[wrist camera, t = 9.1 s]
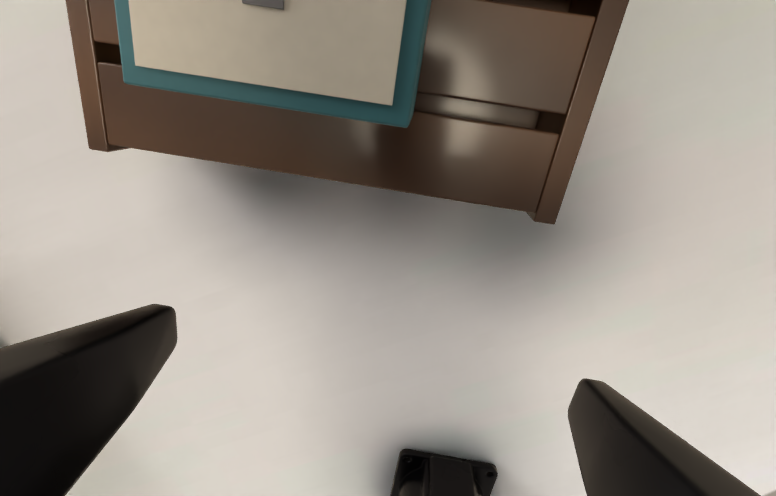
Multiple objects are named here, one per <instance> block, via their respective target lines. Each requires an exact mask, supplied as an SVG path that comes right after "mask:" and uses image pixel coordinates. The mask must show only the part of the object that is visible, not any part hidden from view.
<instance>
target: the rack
mask: <svg viewBox="0 0 776 496" xmlns="http://www.w3.org/2000/svg"><path fill="white" fill-rule="evenodd" d="M628 2H629V0H431V7H430V13H429V19H428V25H427V32H426V38H425V44H424V51H423V57H422V63H421V69H420V76H419V82H418V88H417V94H416V101H415V107H414V113H413V116H412V119H411V121H410V124H409V126H408V127H407V128H403V127H397V126H390V125H384V124H377V123H371V122H365V121H358V120H352V119H346V118H339V117H333V116H326V115H320V114H314V113H307V112H301V111H294V110H288V109H282V108H275V107H269V106H263V105H256V104H250V103H243V102H237V101H231V100H224V99H218V98H211V97H205V96H199V95H192V94H186V93H179V92H173V91H167V90H160V89H154V88H148V87H141V86H135V85H128V84H126V83H124V81H123V72H122V64H121V55H120V47H119V38H118V30H117V21H116V12H115V4H114V0H66V6H67V12H68V18H69V25H70V31H71V37H72V43H73V50H74V56H75V62H76V69H77V75H78V81H79V88H80V94H81V100H82V107H83V113H84V119H85V126H86V132H87V138H88V145H89V148H90V149H92V150H98V151H104V152H111V151H117V150H123V149H128V148H134V149H141V150H147V151H153V152H159V153H165V154H171V155H178V156H184V157H190V158H196V159H202V160H209V161H215V162H221V163H227V164H233V165H239V166H246V167H252V168H258V169H264V170H270V171H277V172H283V173H289V174H295V175H301V176H307V177H314V178H320V179H326V180H332V181H338V182H345V183H351V184H357V185H363V186H369V187H375V188H382V189H388V190H394V191H400V192H406V193H413V194H419V195H425V196H431V197H437V198H443V199H450V200H456V201H462V202H468V203H474V204H481V205H487V206H493V207H499V208H505V209H511V210H518V211H524V212H526V213H527V214H528V215H529V216H530V217H531V218H532V219H533V220H534V221H535V222H541V223H547V224H555V222H556V219H557V216H558V213H559V210H560V207H561V204H562V201H563V197H564V194H565V191H566V188H567V185H568V182H569V179H570V176H571V173H572V170H573V167H574V164H575V161H576V158H577V155H578V152H579V149H580V146H581V143H582V140H583V137H584V134H585V131H586V128H587V125H588V122H589V119H590V116H591V113H592V110H593V107H594V104H595V101H596V98H597V95H598V92H599V89H600V86H601V83H602V80H603V77H604V74H605V71H606V68H607V65H608V62H609V59H610V56H611V53H612V50H613V47H614V44H615V41H616V38H617V35H618V32H619V29H620V26H621V23H622V20H623V17H624V14H625V11H626V8H627V5H628Z"/></svg>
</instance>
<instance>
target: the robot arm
mask: <svg viewBox="0 0 776 496" xmlns="http://www.w3.org/2000/svg"><path fill="white" fill-rule="evenodd" d="M176 343H177V326H176V313H175V310H174V309H173V308H172V307H170V306H165V305H159V304H151V305H148V306H144V307H141V308H137V309H134V310H130V311H127V312H123V313H120V314H117V315H113V316H110V317H106V318H103V319H99V320H96V321H92V322H89V323H85V324H82V325H79V326H75V327H72V328H68V329H65V330H61V331H58V332H54V333H51V334H48V335H44V336H41V337H37V338H34V339H30V340H27V341H23V342H20V343H16V344H13V345H10V346H6V347H3V348H0V496H65V495H66V494H67V493H68V491H69V490H70V489H71V488H72V487H73V485H74V484H75V483H76V482H77V480H78V479H79V478H80V477H81V475H82V474H83V473H84V472H85V470H86V469H87V468H88V467H89V465H90V464H91V463H92V462H93V460H94V459H95V458H96V457H97V455H98V454H99V453H100V452H101V450H102V449H103V448H104V447H105V445H106V444H107V443H108V442H109V440H110V439H111V438H112V437H113V436H114V434H115V433H116V432H117V431H118V429H119V428H120V427H121V426H122V424H123V423H124V422H125V421H126V419H127V418H128V417H129V415H130V414H131V413H132V411H133V410H134V409H135V407H136V406H137V405H138V403H139V402H140V400H141V399H142V397H143V396H144V394H145V393H146V391H147V390H148V388H149V387H150V385H151V384H152V382H153V381H154V379H155V378H156V376H157V374H158V373H159V371H160V370H161V368H162V367H163V365H164V364H165V362H166V361H167V359H168V358H169V356H170V355H171V353H172V352H173V350H174V348H175V346H176ZM568 419H569V424H570V428H571V432H572V436H573V441H574V445H575V449H576V453H577V457H578V462H579V466H580V470H581V474H582V479H583V482H584V486H585V490H586V493H587V496H760V495H759V494H758V493H756V492H755V491H754V490H752V489H751V488H749V487H748V486H747V485H745V484H744V483H743V482H741V481H740V480H738V479H737V478H736V477H734V476H733V475H731V474H730V473H729V472H727V471H726V470H725V469H723V468H722V467H720V466H719V465H718V464H716V463H715V462H714V461H712V460H711V459H709V458H708V457H707V456H705V455H704V454H702V453H701V452H700V451H698V450H697V449H696V448H694V447H693V446H691V445H690V444H689V443H687V442H686V441H685V440H683V439H682V438H680V437H679V436H678V435H676V434H675V433H673V432H672V431H671V430H669V429H668V428H667V427H665V426H664V425H662V424H661V423H660V422H658V421H657V420H656V419H654V418H653V417H651V416H650V415H649V414H647V413H646V412H644V411H643V410H642V409H640V408H639V407H638V406H636V405H635V404H633V403H632V402H631V401H629V400H628V399H627V398H625V397H624V396H622V395H621V394H620V393H618V392H617V391H615V390H614V389H613V388H611V387H610V386H609V385H607V384H606V383H604V382H602V381H597V380H592V379H582V380H581V381H580V382H579V384H578V386H577V389H576V391H575V393H574V396H573V398H572V401H571V403H570V405H569V409H568ZM497 474H498V473H497V469H496V466H495V465H493V464H490V463H484V462H479V461H473V460H467V459H462V458H456V457H450V456H444V455H439V454H433V453H427V452H422V451H416V450H410V449H404V450H402V451H400V454H399V458H398V463H397V467H396V472H395V477H394V481H393V486H392V490H391V495H390V496H490V494H491V492H492V489H493V486H494V484H495V481H496V478H497Z"/></svg>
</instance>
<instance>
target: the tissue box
mask: <svg viewBox="0 0 776 496" xmlns="http://www.w3.org/2000/svg"><path fill="white" fill-rule="evenodd" d="M114 4H115V12H116V21H117V30H118V38H119V47H120V55H121V64H122V72H123V81H124V83H126V84H128V85H135V86H141V87H148V88H154V89H160V90H167V91H173V92H179V93H186V94H192V95H199V96H205V97H211V98H218V99H224V100H231V101H237V102H243V103H250V104H256V105H263V106H269V107H275V108H282V109H288V110H294V111H301V112H307V113H314V114H320V115H326V116H333V117H339V118H346V119H352V120H358V121H365V122H371V123H377V124H384V125H390V126H397V127H403V128H407V127H408V126H409V124H410V121H411V119H412V116H413V113H414V107H415V101H416V94H417V88H418V82H419V76H420V69H421V63H422V57H423V51H424V44H425V38H426V32H427V25H428V19H429V13H430V7H431V0H114Z"/></svg>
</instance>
